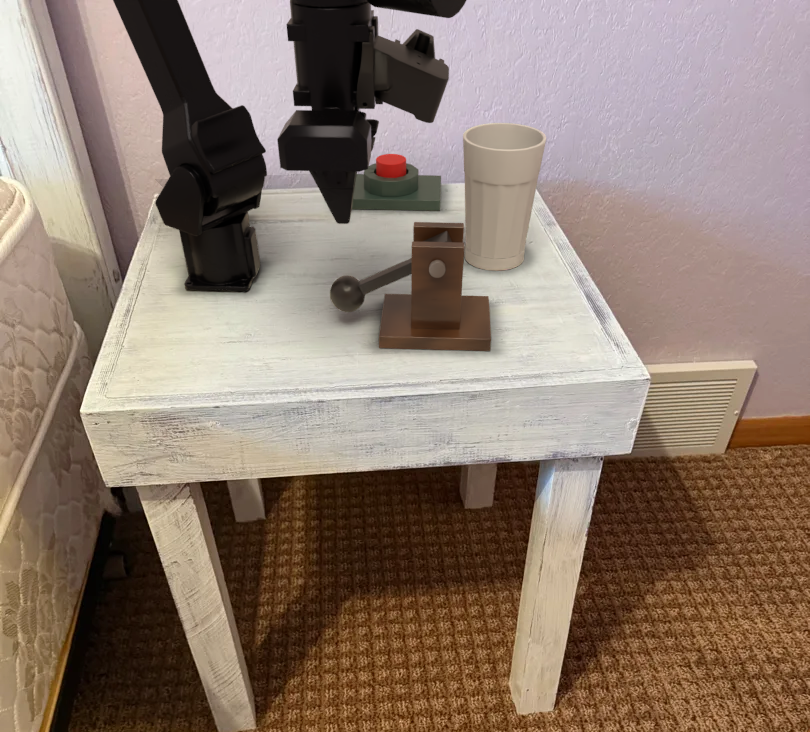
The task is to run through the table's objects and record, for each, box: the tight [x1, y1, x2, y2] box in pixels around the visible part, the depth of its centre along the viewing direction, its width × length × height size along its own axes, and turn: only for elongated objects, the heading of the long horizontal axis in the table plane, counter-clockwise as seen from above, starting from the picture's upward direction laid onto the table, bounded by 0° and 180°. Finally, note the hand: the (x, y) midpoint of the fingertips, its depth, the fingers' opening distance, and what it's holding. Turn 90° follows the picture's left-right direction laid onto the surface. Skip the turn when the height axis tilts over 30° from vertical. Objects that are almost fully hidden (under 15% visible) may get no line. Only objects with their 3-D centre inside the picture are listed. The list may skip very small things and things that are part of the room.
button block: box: [352, 162, 442, 212], centre depth 92 cm, size 12×8×3 cm, turn 87°
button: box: [375, 153, 407, 178], centre depth 91 cm, size 4×4×2 cm
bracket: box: [378, 221, 492, 352], centre depth 68 cm, size 10×8×9 cm
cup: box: [462, 122, 547, 271], centre depth 77 cm, size 8×8×12 cm
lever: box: [329, 231, 452, 313], centre depth 68 cm, size 12×3×3 cm, turn 88°
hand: (343, 222), depth 65 cm, fingers closed
